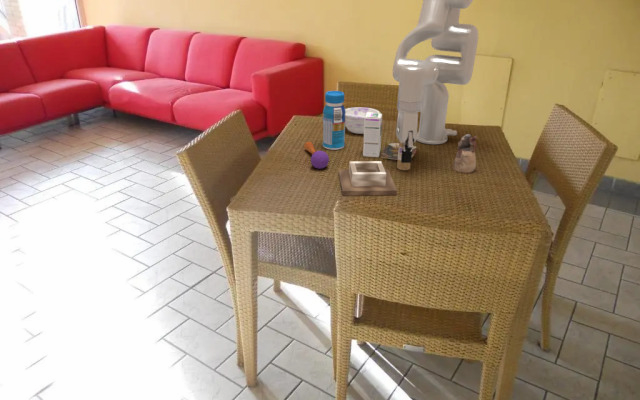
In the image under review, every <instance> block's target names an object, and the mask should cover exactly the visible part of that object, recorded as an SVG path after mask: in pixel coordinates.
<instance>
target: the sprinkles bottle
mask: <svg viewBox="0 0 640 400" xmlns="http://www.w3.org/2000/svg"><path fill="white" fill-rule="evenodd" d="M398 141H399V140H398ZM405 142H408V140H406V141H405ZM406 145H408V144H406ZM397 151H398V152H397V164H396V168H397V169H398V170H400V171H408V170H410V169H411V163H412V161H411V162H410V163H402V162H401V156H402V151H403V143H401V142H400V141H399V143H398V150H397Z"/></svg>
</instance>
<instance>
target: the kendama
mask: <svg viewBox="0 0 640 400" xmlns="http://www.w3.org/2000/svg"><path fill="white" fill-rule="evenodd" d="M303 147H304V149H305V150H306V151H307V152H309V153H310V154H311V157H310V164H311V165H312V166H313V168H315V169H317V170H321V169H322V170H323V169H324V168H326V167H327V166H328V164H329V162H330V158H329V155H328V153H326V152H325V151H323V150H316V149H315V145H314V143H313V142H312V141H307V142H305V143H304V145H303Z"/></svg>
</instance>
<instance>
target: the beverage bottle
mask: <svg viewBox="0 0 640 400" xmlns="http://www.w3.org/2000/svg"><path fill="white" fill-rule="evenodd" d="M324 96H325V97H324V98H325V99H324V100H325V105H324V108H323V110H322V113H323V116H322V122H323V123H322V131H323V132H322V147H323V148H324V149H327V150H331V151H335V150H336V151H337V150H341V149H344V147H346V144H345V137H346V136H345V135H346V134H345V133H346V126H345V122H346V117H345V113H346V110H345V109H346V107H345V106H344V102H345V93H344V92H343V91H341V90H329V91H326V92H325V94H324Z"/></svg>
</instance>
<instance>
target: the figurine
mask: <svg viewBox="0 0 640 400" xmlns="http://www.w3.org/2000/svg"><path fill="white" fill-rule="evenodd" d="M477 137H478V136H477V135H474V136H472V135H471V134H469V133H467V134H465V135H463V136H462V137H461V138H460V140H459V141H458V142H457V145H458V146H457V148H456V150H457V152H456V155H455V159H454V161H453V166H452V169H453V170H454V172H455V171H456V172H458V173H463V174H467V173H470V174H471V173H473V172H474V171H475V170H476V166H477V165H476V164H477V163H476V162H477V161H476V159H477V158H476V149H477V147H478V146H477V145H478V144H477V142H476V139H478V138H477Z"/></svg>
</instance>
